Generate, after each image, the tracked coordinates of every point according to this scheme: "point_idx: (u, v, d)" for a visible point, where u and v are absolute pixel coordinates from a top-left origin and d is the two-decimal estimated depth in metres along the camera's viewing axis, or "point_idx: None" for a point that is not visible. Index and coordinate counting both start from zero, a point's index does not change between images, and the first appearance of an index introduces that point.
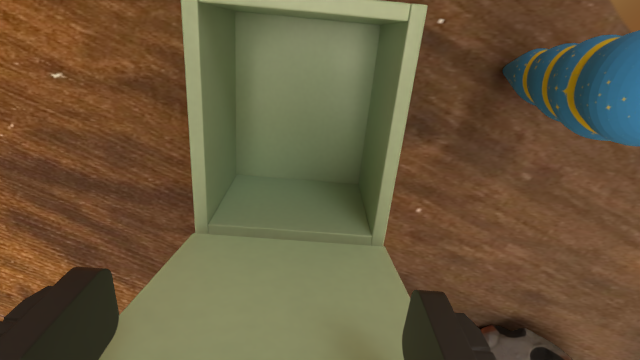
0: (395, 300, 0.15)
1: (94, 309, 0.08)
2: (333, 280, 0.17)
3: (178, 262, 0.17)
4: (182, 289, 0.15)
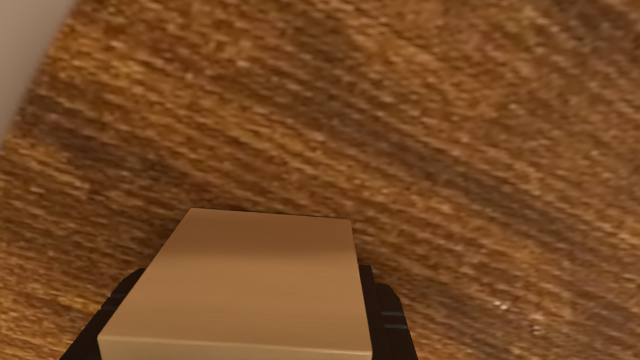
0: None
1: None
2: None
3: None
4: None
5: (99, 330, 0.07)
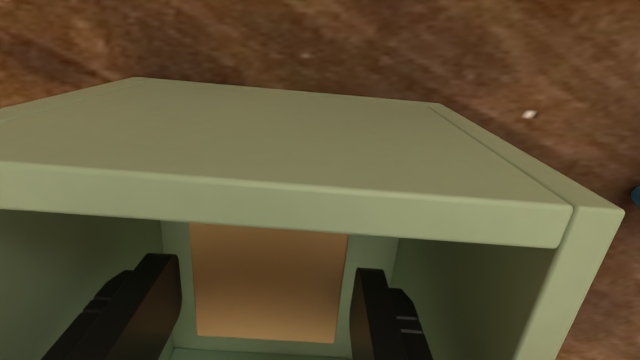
0: None
1: (168, 292, 0.09)
2: None
3: None
4: None
5: (79, 333, 0.07)
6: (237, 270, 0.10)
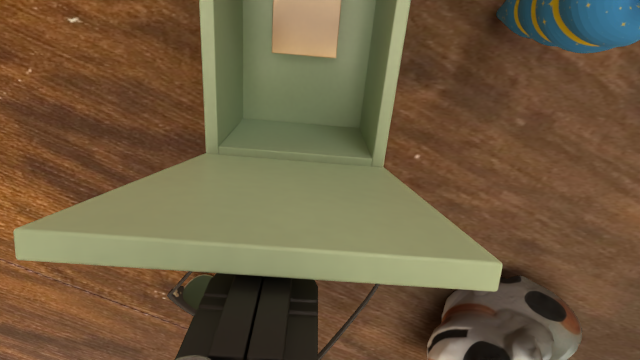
0: (394, 186, 0.17)
1: None
2: (336, 176, 0.18)
3: (192, 162, 0.18)
4: (198, 172, 0.16)
5: (204, 328, 0.08)
6: (292, 11, 0.23)
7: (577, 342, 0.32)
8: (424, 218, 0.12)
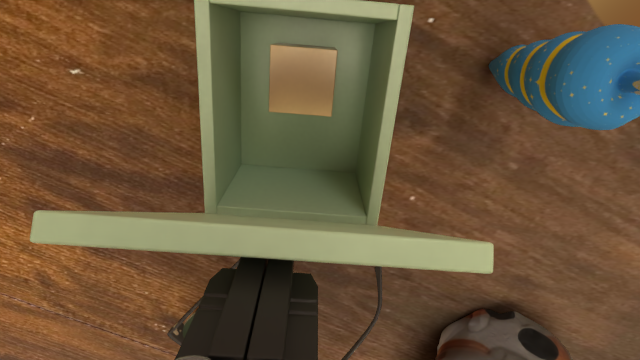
0: None
1: None
2: (332, 223, 0.19)
3: (193, 213, 0.19)
4: None
5: (204, 328, 0.08)
6: (289, 73, 0.23)
7: None
8: (418, 233, 0.12)
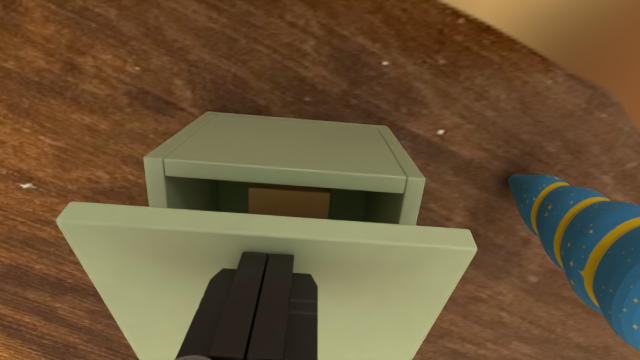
0: None
1: None
2: None
3: None
4: None
5: (204, 328, 0.08)
6: None
7: None
8: None
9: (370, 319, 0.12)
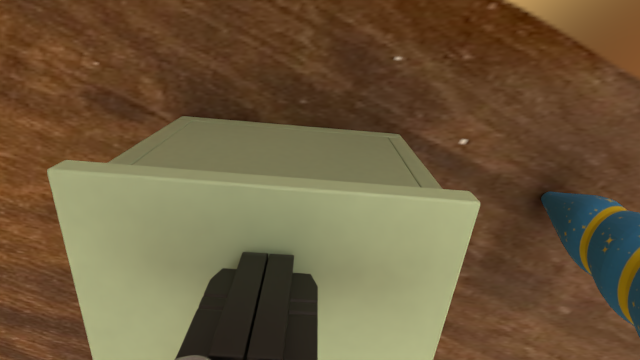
0: None
1: None
2: None
3: None
4: None
5: (204, 328, 0.08)
6: None
7: None
8: None
9: (375, 314, 0.11)
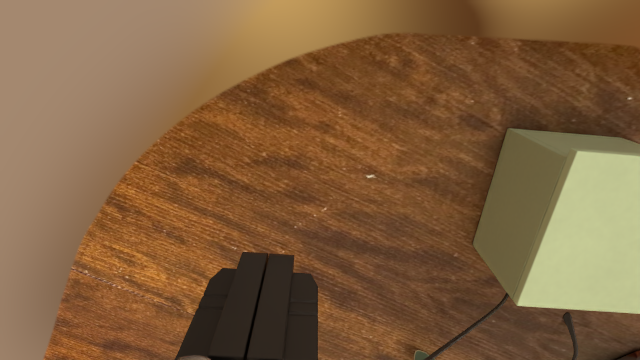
0: None
1: None
2: None
3: None
4: None
5: (204, 328, 0.08)
6: None
7: None
8: None
9: None
